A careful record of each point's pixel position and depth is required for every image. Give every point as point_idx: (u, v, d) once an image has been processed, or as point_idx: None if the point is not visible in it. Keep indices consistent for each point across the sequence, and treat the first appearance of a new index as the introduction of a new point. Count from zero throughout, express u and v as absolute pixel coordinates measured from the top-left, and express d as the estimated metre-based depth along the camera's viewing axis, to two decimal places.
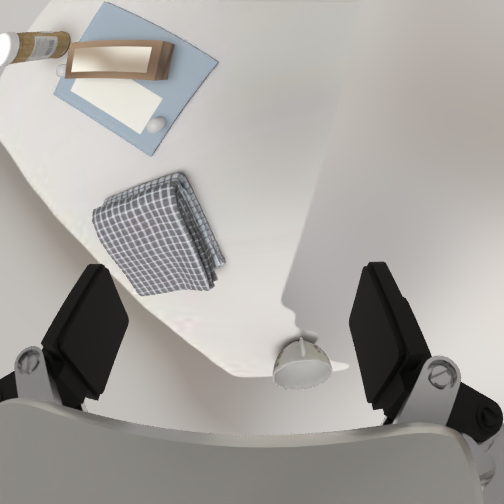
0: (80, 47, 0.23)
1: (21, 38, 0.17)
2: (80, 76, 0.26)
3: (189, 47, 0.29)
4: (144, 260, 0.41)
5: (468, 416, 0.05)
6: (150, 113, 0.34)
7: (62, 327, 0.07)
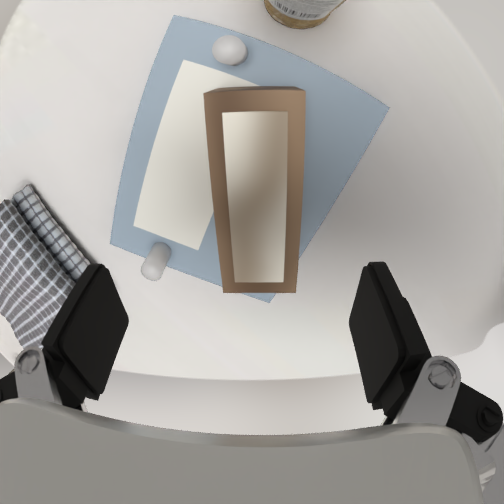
0: (289, 127, 0.13)
1: None
2: (211, 141, 0.14)
3: None
4: (0, 290, 0.22)
5: (468, 416, 0.05)
6: (170, 235, 0.24)
7: (62, 327, 0.07)
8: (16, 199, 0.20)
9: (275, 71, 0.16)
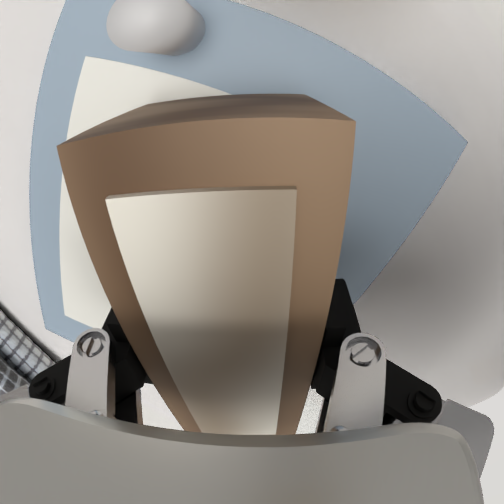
0: (300, 232, 0.05)
1: None
2: (102, 264, 0.05)
3: None
4: None
5: (397, 398, 0.06)
6: None
7: None
8: None
9: (263, 62, 0.07)
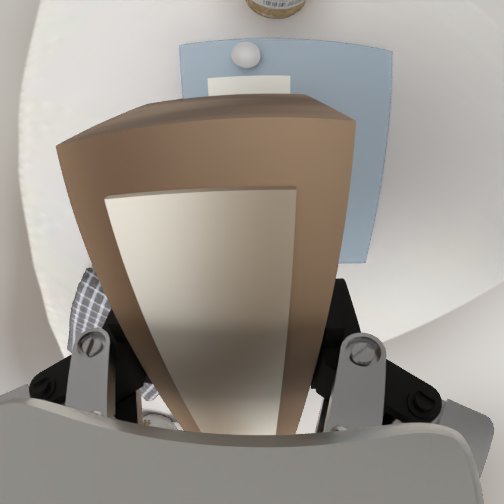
0: (300, 233, 0.05)
1: None
2: (102, 264, 0.05)
3: (369, 226, 0.25)
4: None
5: (397, 398, 0.06)
6: None
7: None
8: None
9: (289, 58, 0.17)
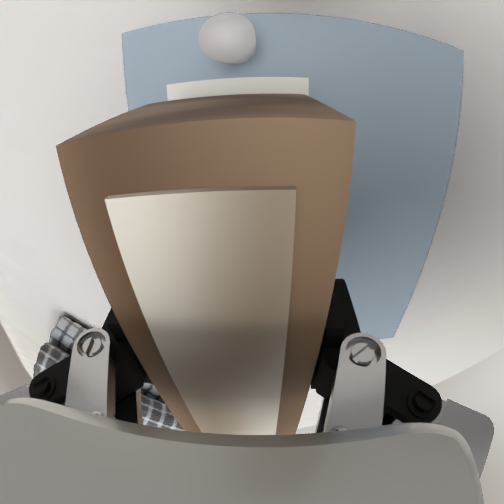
0: (300, 232, 0.05)
1: None
2: (102, 264, 0.05)
3: (406, 298, 0.17)
4: None
5: (397, 398, 0.06)
6: None
7: None
8: (54, 337, 0.19)
9: (307, 48, 0.10)
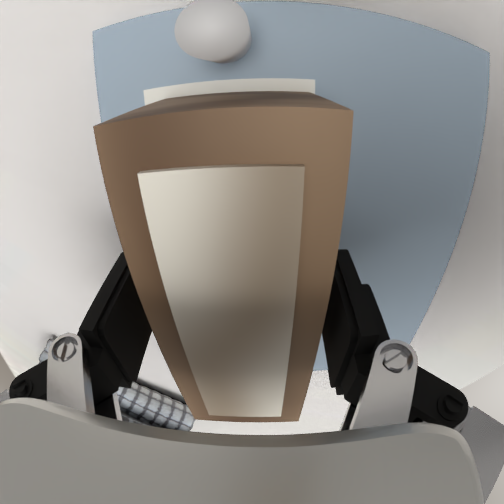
0: (307, 205, 0.06)
1: None
2: (128, 235, 0.06)
3: (416, 323, 0.16)
4: None
5: (427, 403, 0.05)
6: None
7: (101, 312, 0.07)
8: None
9: (313, 43, 0.08)
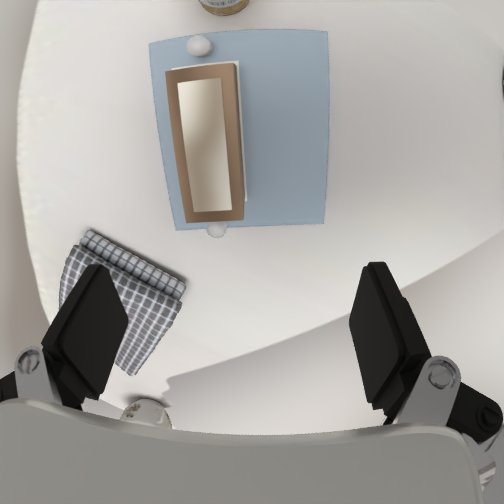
0: (223, 88, 0.18)
1: None
2: (171, 103, 0.19)
3: (322, 187, 0.28)
4: None
5: (468, 416, 0.05)
6: None
7: (62, 327, 0.07)
8: (83, 243, 0.30)
9: (237, 46, 0.20)
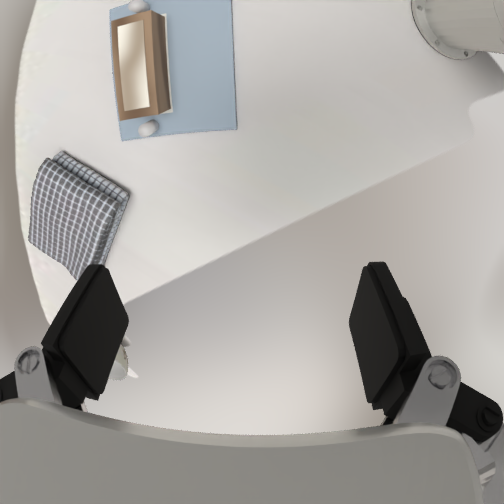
0: (144, 25, 0.22)
1: None
2: (113, 39, 0.23)
3: (232, 97, 0.32)
4: (52, 228, 0.37)
5: (468, 416, 0.05)
6: None
7: (62, 327, 0.07)
8: (54, 159, 0.34)
9: (165, 4, 0.24)
